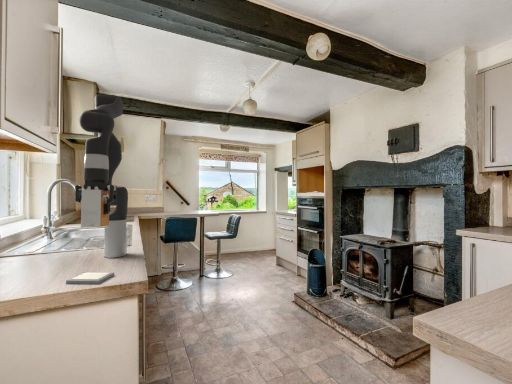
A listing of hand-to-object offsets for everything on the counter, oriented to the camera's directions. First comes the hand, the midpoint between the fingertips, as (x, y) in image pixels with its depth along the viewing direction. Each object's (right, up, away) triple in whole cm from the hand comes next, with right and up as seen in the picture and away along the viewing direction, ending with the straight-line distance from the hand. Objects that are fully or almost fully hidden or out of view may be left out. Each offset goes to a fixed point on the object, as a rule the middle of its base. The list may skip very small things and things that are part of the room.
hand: (95, 214), depth 92 cm
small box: (0, -5, 0) cm, 5 cm away
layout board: (0, -22, -2) cm, 23 cm away
